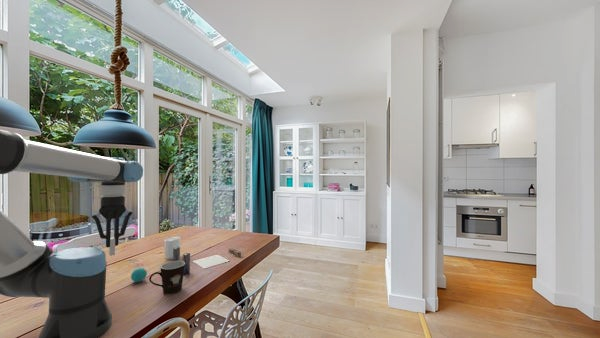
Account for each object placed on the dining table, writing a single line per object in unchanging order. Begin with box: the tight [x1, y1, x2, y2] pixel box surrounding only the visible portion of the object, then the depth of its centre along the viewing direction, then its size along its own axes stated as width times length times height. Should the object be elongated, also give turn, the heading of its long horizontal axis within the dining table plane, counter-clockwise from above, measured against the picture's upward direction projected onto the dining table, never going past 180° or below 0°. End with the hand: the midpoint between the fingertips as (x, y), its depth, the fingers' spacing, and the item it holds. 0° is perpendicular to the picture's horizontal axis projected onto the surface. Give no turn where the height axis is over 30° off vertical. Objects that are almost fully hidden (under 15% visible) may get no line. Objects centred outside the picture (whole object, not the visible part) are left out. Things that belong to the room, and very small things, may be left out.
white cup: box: [163, 236, 181, 260], centre depth 128 cm, size 8×8×10 cm
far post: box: [172, 246, 181, 261], centre depth 115 cm, size 3×3×9 cm
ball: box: [130, 267, 148, 283], centre depth 98 cm, size 6×6×6 cm
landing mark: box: [192, 254, 230, 270], centre depth 121 cm, size 14×14×1 cm
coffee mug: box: [148, 260, 185, 295], centre depth 90 cm, size 12×9×10 cm
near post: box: [182, 252, 191, 276], centre depth 106 cm, size 3×3×9 cm
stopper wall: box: [228, 248, 242, 258], centre depth 132 cm, size 10×2×2 cm, turn 47°
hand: (111, 254), depth 92 cm, fingers closed
